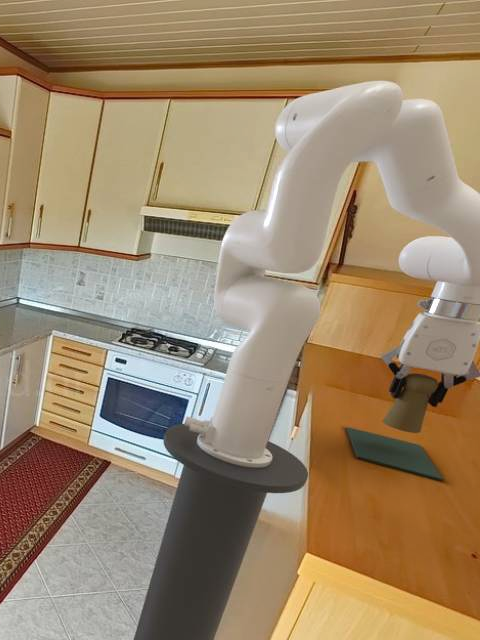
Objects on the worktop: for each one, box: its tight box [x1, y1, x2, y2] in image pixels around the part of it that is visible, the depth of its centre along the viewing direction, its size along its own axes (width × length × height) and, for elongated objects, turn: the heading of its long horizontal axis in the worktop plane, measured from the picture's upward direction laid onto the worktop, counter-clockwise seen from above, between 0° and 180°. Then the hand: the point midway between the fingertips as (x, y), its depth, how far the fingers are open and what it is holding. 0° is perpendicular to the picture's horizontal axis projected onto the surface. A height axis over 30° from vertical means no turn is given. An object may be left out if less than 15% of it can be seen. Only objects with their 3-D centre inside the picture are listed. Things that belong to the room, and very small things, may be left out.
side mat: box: [345, 426, 444, 482], centre depth 101 cm, size 13×18×1 cm
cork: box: [382, 372, 439, 434], centre depth 97 cm, size 6×6×11 cm
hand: (412, 399), depth 97 cm, fingers closed on cork, 5 cm apart
